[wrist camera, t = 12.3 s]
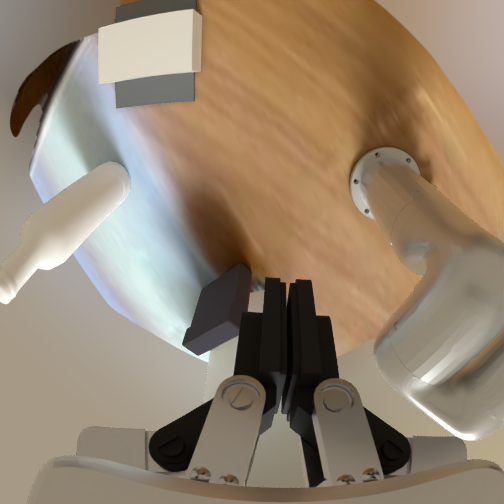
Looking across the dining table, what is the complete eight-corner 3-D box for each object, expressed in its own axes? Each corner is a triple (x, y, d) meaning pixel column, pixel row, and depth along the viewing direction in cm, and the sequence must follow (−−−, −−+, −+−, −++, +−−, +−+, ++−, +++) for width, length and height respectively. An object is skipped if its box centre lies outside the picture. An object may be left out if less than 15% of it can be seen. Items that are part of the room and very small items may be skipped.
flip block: (193, 9, 26) (98, 28, 26) (191, 70, 31) (98, 84, 31) (202, 16, 30) (115, 31, 30) (201, 71, 35) (115, 82, 35)
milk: (210, 351, 69) (190, 446, 47) (240, 332, 64) (226, 439, 42) (245, 371, 73) (235, 461, 51) (277, 355, 68) (273, 454, 46)
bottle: (135, 166, 44) (12, 278, 19) (129, 207, 48) (29, 330, 23) (96, 156, 43) (-33, 251, 18) (93, 195, 47) (-15, 302, 22)
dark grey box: (214, 300, 59) (200, 359, 47) (199, 287, 57) (181, 345, 45) (255, 274, 54) (248, 335, 42) (239, 259, 53) (227, 319, 40)
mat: (197, -7, 28) (195, -9, 27) (194, 100, 38) (193, 101, 37) (118, 8, 28) (116, 7, 28) (118, 108, 38) (116, 108, 38)
